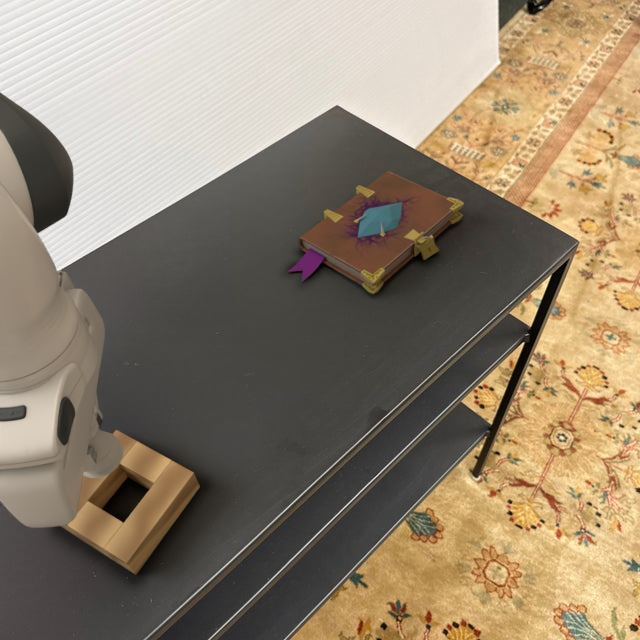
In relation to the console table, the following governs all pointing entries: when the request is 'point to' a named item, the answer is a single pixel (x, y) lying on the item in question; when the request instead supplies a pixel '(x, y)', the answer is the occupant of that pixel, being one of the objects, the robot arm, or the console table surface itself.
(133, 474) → the square wooden frame
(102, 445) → the rook chess piece
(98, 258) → the console table surface
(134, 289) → the console table surface
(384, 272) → the book
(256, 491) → the console table surface
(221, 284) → the console table surface
